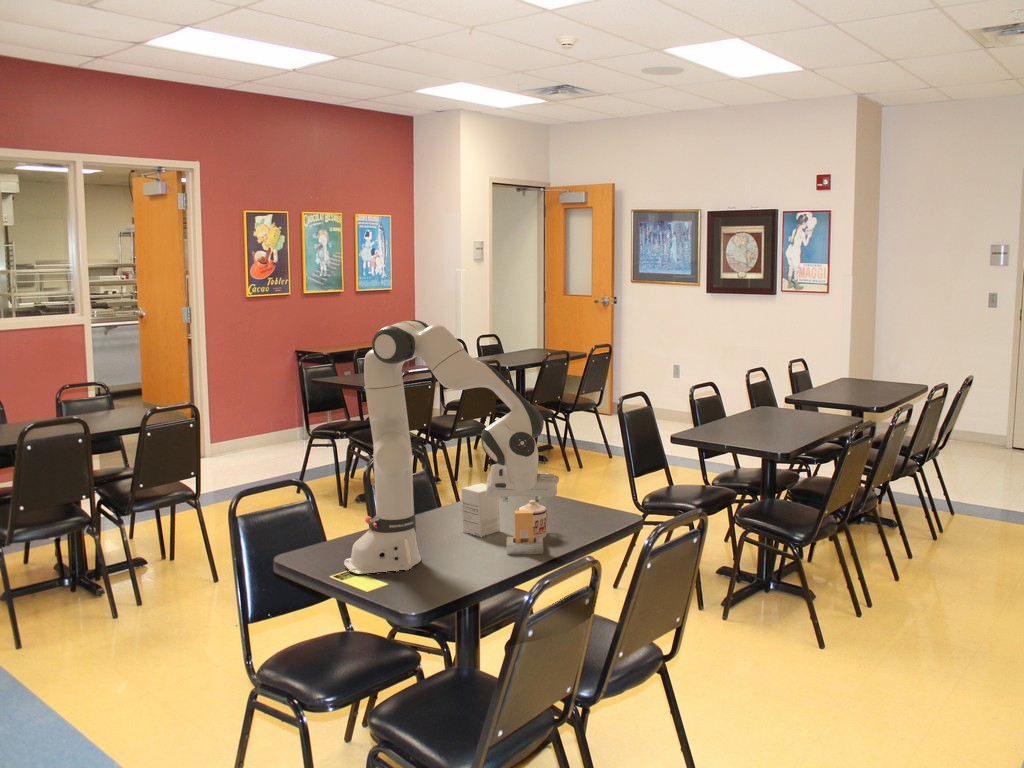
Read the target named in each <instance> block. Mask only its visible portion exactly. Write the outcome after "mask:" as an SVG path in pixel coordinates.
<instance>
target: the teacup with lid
mask: <svg viewBox="0 0 1024 768" xmlns="http://www.w3.org/2000/svg"><path fill="white" fill-rule="evenodd" d="M528 510H533V536H542V539H544V538H545V537H546V536H547V523H548V520H549V512H548V509H547V507H545V506H544V505H541V504H539V503H538V502H535V500H534V499H530V500H529V502H528V503H526V504H524V505H521V506H520V507H519V508H518V510H517V511H528ZM525 536H528V529H520V537H525Z"/></svg>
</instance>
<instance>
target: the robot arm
mask: <svg viewBox="0 0 1024 768" xmlns="http://www.w3.org/2000/svg"><path fill="white" fill-rule="evenodd" d="M371 348H372V349H371V350H369V351H367V353H366V354H365V356H364V361H363V363H364V364H363V378H364V390H365V397H366V404H367V406H366V407H367V412H368V418H369V424H370V431H371V436H372V437H371V438H372V443H373V444H372V445H373V453H372V454H373V456H372V457H373V473H374V476H373V477H374V478H373V479H374V492H375V493H374V495H375V513H376V514H375V515H374V516H373V518H372V517H371V516H369V515H367V516H366V517H364V520H365V522H366V524H368V525H369V529H368V530H367V531H366V532H365V533H364V534H362V536H360V537H359V539H357V540H355V542H354V543H353V545H352V549H351V553H350V554H351V555H350V557H349V558H346V559H345V560H344V561H343V563H344V564H343V566H344V565H345V566H346V567H347V568H348V569H349V570H351V571H354V572H357V573H375V572H386V573H388V572H387V571H396V572H400V571H399V570H405V571H409V569H410V570H412V568H413V567H414V566H415V565H417V564H419V563H421V560H422V558H421V554H420V551H419V547H418V543H417V535H416V532H417V518H416V513H415V506H414V504H415V503H414V481H413V479H414V478H413V477H414V476H413V474H414V473H413V472H414V471H413V449H412V442H411V435H410V434H411V433H410V426H409V418H408V410H407V401H406V395H405V394H406V393H405V386H404V379H403V366H404V364H405V362H408V361H412V360H414V359H417V358H418V359H419V358H420V359H421V360H422V361H423V362H424V363H425V364H426V365H427V367H428V368H429V370H430V371H431V373H432V375H433V376H434V377H435V379H437V381H438V382H439V383H440V385H442V386H443V387H444V388H446V389H448V390H452V391H463V390H469V389H474V388H486V389H488V390H491V391H492V392H493V393H494V394H495V395H496V396H497V397H498V398H499V399H500V400H501V401H502V402H503V403H504V404H505V405H506V406H507V407H508V408H509V409H510V411H509V412H507V413H506V414H505V415H504V416H502V417H501V418H499V419H497V420H495V421H493V422H492V423H491V424H489V425H488V426H486V427H485V428H483V429H482V430H481V437H480V439H481V442H480V443H481V446H482V449H483V451H484V453H485V454H486V456H487V457H488V458H489V459H490V460H491V461H493V463H495V464H492V465H491V467H490V472H489V473H488V474H487V479H486V485H487V489H486V494H487V495H488V496H499V499H502V503H508V502H509V497H534V498H535V500H534V501H535V502H536V503H541V500H542V499H544V498H545V497H552V498H553V497H556V496H557V495H558V483H560V482H559V481H560V477H559V476H558V475H556V474H554V473H547V472H546V473H545V472H541V473H539V467H538V464H539V449H538V445H537V442H536V439H537V437H540V436H541V435H542V432H543V429H544V423H545V421H544V417H543V415H542V413H541V412H540V411H539V410H538V409H537V407H535V406H534V405H533V404H532V403H530V402H529V401H528V400H527V399H526V398H524V397H523V395H521V394H520V393H519V391H517V389H516V388H515V387H514V386H512V384H511V383H510V382H509V381H507V379H506V378H505V377H504V376H503V375H502V374H501V373H500V372H499V371H498V370H496V368H495V367H493V366H492V365H491V364H490V363H489V362H487V361H480V360H477V359H475V358H474V357H472V356H471V355H470V354H469V353H468V352H467V351H466V350H465V348H464V347H463V345H462V344H461V342H460V341H459V340H458V339H457V338H456V337H455V335H454V334H453V333H451V331H449V330H448V329H447V328H446V327H445V326H444V325H441V324H432V325H429V324H427V323H426V322H424V321H421V320H418V319H410V320H406V321H405V320H402V321H398V322H396V323H394V324H391V325H387V326H384V327H382V328H380V329H379V330H378V331H377V332H376V333H375V334H374V335H373V338H372V341H371Z"/></svg>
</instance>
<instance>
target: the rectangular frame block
mask: <svg viewBox="0 0 1024 768" xmlns="http://www.w3.org/2000/svg"><path fill="white" fill-rule="evenodd" d="M543 539H544V538H542V536H533V540H534V543H529V538H528V536H525V537H520V543H515V536H506V555H543V554H544V541H543Z"/></svg>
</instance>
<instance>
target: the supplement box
mask: <svg viewBox="0 0 1024 768" xmlns="http://www.w3.org/2000/svg"><path fill="white" fill-rule="evenodd" d="M486 489H487V483H482V482H481V483H477V484H472V485H469V486H465V487H462V488H461V507H462V508H461V510H462V511H461V512H462V533H465V532H467V533H466V534H468V533H470V534H469V535H472V534H474V535H473V536H475V535H477V536H476V537H479V536H480V538H482V537H481V536H483V537H486V536H488V535H492V534H495V533H497V532H500V531H501V521H500V520H501V519H500V518H501V517H500V497H499V496H488V495H487V494H486ZM485 535H486V536H485Z"/></svg>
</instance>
